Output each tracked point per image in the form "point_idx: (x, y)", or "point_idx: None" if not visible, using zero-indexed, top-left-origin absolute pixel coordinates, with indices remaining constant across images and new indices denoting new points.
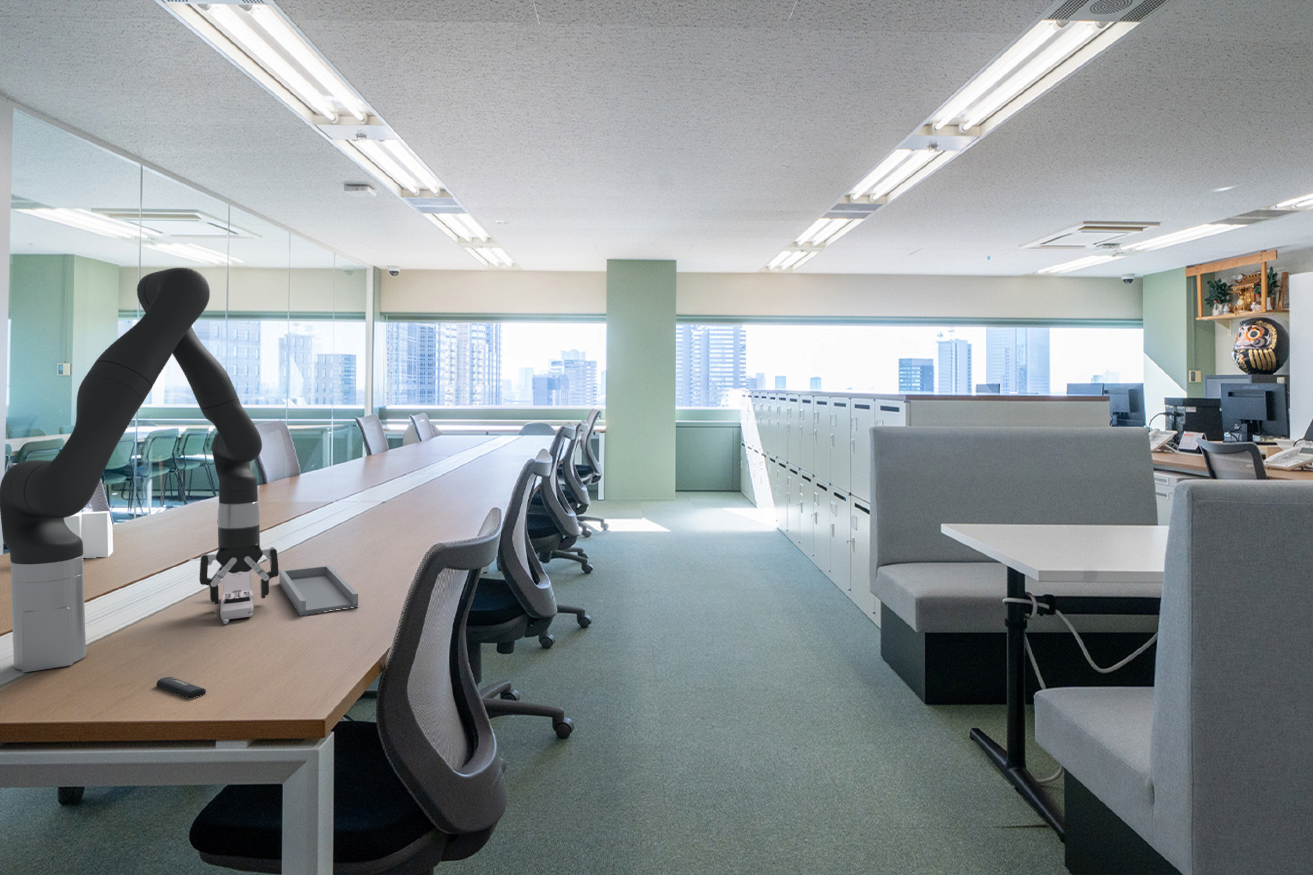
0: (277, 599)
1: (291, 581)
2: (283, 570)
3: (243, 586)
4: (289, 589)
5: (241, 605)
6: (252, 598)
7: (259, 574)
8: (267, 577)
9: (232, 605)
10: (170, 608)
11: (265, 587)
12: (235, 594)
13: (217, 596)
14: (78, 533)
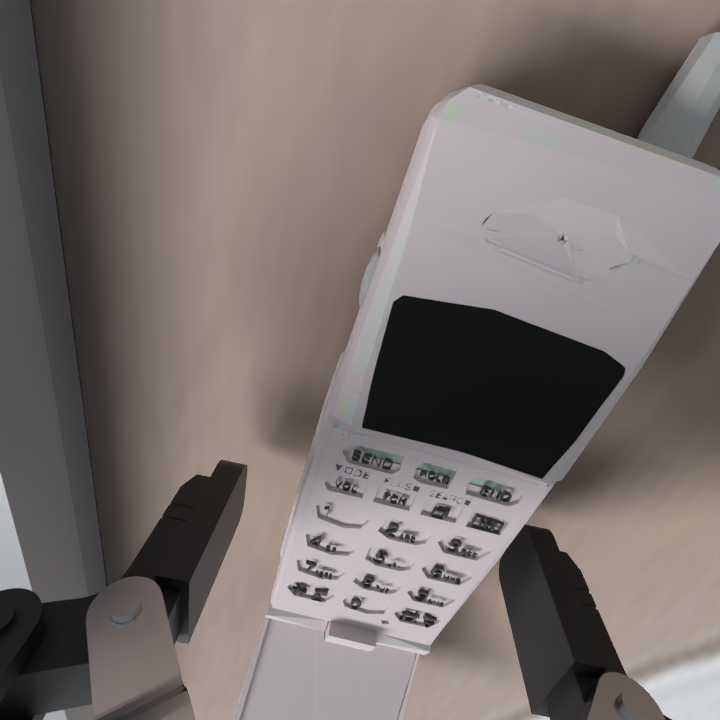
0: (157, 485)
1: None
2: None
3: (297, 674)
4: (41, 499)
5: (519, 216)
6: (339, 392)
7: (170, 675)
8: (110, 607)
9: (588, 275)
10: (643, 655)
11: (185, 528)
12: (382, 591)
13: (550, 571)
14: None
